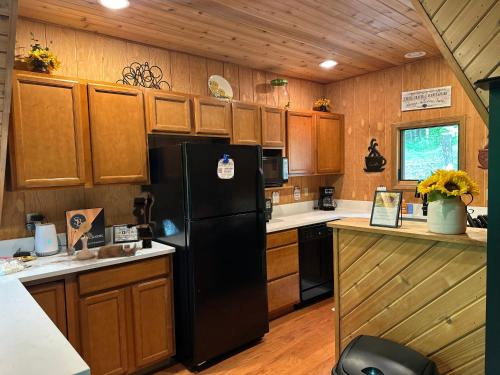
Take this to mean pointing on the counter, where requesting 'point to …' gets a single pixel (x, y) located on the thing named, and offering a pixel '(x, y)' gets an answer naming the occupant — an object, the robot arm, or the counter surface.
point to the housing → (110, 251)
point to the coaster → (127, 250)
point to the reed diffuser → (71, 249)
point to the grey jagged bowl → (130, 252)
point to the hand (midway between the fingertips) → (141, 237)
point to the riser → (126, 246)
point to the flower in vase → (85, 242)
